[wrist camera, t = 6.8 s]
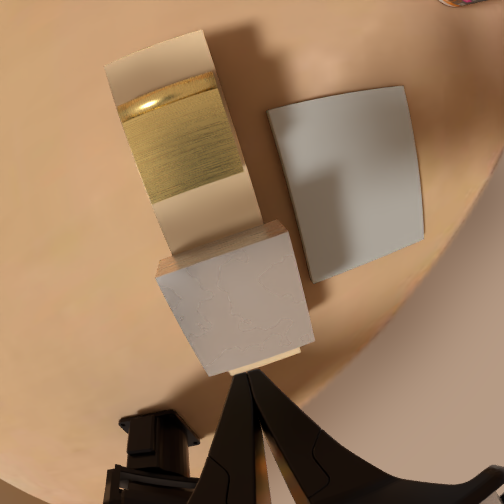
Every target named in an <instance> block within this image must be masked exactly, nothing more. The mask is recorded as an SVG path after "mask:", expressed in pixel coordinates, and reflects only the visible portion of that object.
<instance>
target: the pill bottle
mask: <svg viewBox="0 0 504 504" xmlns="http://www.w3.org/2000/svg"><path fill="white" fill-rule="evenodd" d="M439 1H440V2H442V3H443V4H445V5H447V6H451V7H458V6H463V5H467V4H472V3H476V2H481V1H487V0H439Z"/></svg>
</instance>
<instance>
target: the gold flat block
mask: <svg viewBox="0 0 504 504" xmlns="http://www.w3.org/2000/svg"><path fill="white" fill-rule="evenodd" d="M117 110H118V114H119V117H120V120H121V122H122V125H123V128H124V131H125V134H126V137H127V139H128V142H129V145H130V148H131V151H132V153H133V156H134V159H135V162H136V164H137V167H138V170H139V172H140V175H141V178H142V180H143V183H144V186H145V188H146V191H147V193H148V196H149V198H150V201H151V203H152V204H155V203H157V202H160V201H163V200H165V199H168V198H171V197H173V196H176V195H179V194H181V193H184V192H187V191H189V190H192V189H195V188H198V187H201V186H203V185H206V184H209V183H212V182H215V181H218V180H221V179H224V178H227V177H230V176H233V175H236V174H239V173H242V172H244V170H243V166H242V163H241V160H240V157H239V154H238V150H237V147H236V144H235V141H234V138H233V135H232V131H231V128H230V125H229V122H228V119H227V116H226V113H225V110H224V106H223V103H222V100H221V97H220V94H219V91H218V88H217V84H216V81H215V78H214V75H213V73H212V71H211V72H207V73H204V74H201V75H197V76H194V77H191V78H188V79H185V80H182V81H179V82H176V83H173V84H171V85H168V86H165V87H162V88H160V89H157V90H155V91H152V92H149V93H147V94H144V95H142V96H140V97H137V98H135V99H132V100H130V101H128V102H125V103H123V104H121V105H119V106H117Z"/></svg>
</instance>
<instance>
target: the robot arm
mask: <svg viewBox="0 0 504 504" xmlns="http://www.w3.org/2000/svg"><path fill="white" fill-rule="evenodd" d="M259 420H260V421H259ZM260 424H261V425H260ZM119 426H120V427H121V428H122V429H123V430H124V431H125V432H126V433H127V434H128V443H127V454H128V456H127V467H123V466H121V465H118V464H115V469H110V470H107V478H106V487H105V493H104V500H103V504H271V496H270V489H269V481H268V473H267V465H266V458H265V450H264V441H263V434H262V430H263V433H264V436H265V438H266V440H267V442H268V445H269V447H270V449H271V452H272V454H273V456H274V458H275V461H276V463H277V465H278V467H279V469H280V471H281V473H282V476H283V478H284V480H285V482H286V484H287V486H288V488H289V491H290V493H291V495H292V497H293V499H294V501H295V503H296V504H504V493H503V494H502V495H500V496H498V494H497V493H496V490H497V489H498V488H499V487H500V486H502V485H503V484H504V467H502V466H497V465H491V466H489V467H488V468H486V469H485V470H484V471H482V472H481V473H480V474H478V475H477V476H476V477H474V478H473V479H471V480H470V481H468V482H465V483H462V484H456V485H448V484H437V483H428V482H420V481H412V480H406V479H401V478H397V477H394V476H392V475H390V474H387V473H385V472H383V471H382V470H380V469H378V468H377V467H375V466H373V465H372V464H370V463H368V462H367V461H365V460H363V459H362V458H360V457H358V456H357V455H355V454H354V453H352V452H351V451H349V450H348V449H346V448H345V447H343V446H342V445H340V444H339V443H338V442H337V441H336V440H334V439H333V438H332V437H331V436H330V435H328V434H327V433H326V432H325V431H324V430H321V428H320V427H319V426H318V425H317V424H316V423H315V422H314V421H313V420H312V419H311V418H310V417H308V416H307V415H306V414H305V413H304V412H303V411H302V410H301V409H300V408H299V407H298V406H297V405H296V404H295V403H294V402H293V401H292V400H290V399H289V398H288V397H287V396H286V395H285V394H284V393H283V392H282V391H281V390H280V389H279V388H278V387H277V386H276V385H275V384H274V383H273V382H272V381H271V380H270V379H269V378H268V377H267V376H266V375H265V374H264V373H263V372H262V371H261V370H260V369H256V370H251V371H248V372H247V373H246V372H243V373H238V374H235V375H234V376H233V379H232V382H231V385H230V389H229V392H228V395H227V398H226V401H225V404H224V407H223V411H222V414H221V417H220V420H219V423H218V426H217V429H216V432H215V435H214V438H213V441H212V444H211V447H210V450H209V453H208V457H207V459H206V462H205V465H204V468H203V471H202V473H201V476H200V478H193V477H190V469H189V453H188V447H190V446H195V445H199V444H200V439H199V438H198V437H197V436H196V435H195V434H194V432H193V431H192V430H191V429H190V428H189V427H188V426H187V424H186V423H185V422H184V421H183V420H182V419H181V417H180V416H179V415H178V414H177V413H176V412H175V411H173V410H168V411H164V412H159V413H154V414H149V415H143V416H138V417H132V418H126V419H121V420H119ZM261 427H262V429H261ZM119 487H120V488H124V490H122V489H119Z"/></svg>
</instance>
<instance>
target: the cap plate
mask: <svg viewBox="0 0 504 504" xmlns="http://www.w3.org/2000/svg"><path fill="white" fill-rule="evenodd" d="M155 279H156V281H157V283H158V285H159V287H160V289H161V291H162V293H163V295H164V297H165V299H166V301H167V302H168V304H169V306H170V308H171V310H172V312H173V314H174V316H175V318H176V320H177V322H178V323H179V325H180V327H181V329H182V331H183V333H184V334H185V336H186V338H187V340H188V342H189V343H190V345H191V347H192V349H193V350H194V352H195V354H196V356H197V357H198V359H199V361H200V363H201V364H202V366H203V368H204V369H205V371H206V373H207V374H208V376H209V377H210V376H214V375H217V374H220V373H224V372H227V371H230V370H234V369H237V368H240V367H243V366H246V365H249V364H252V363H256V362H259V361H262V360H264V359H267V358H270V357H273V356H276V355H279V354H282V353H285V352H287V351H290V350H293V349H296V348H298V347H301V346H304V345H306V344H309V343H311V342H314V341H315V338H314V334H313V329H312V325H311V321H310V316H309V312H308V308H307V304H306V299H305V295H304V291H303V287H302V283H301V279H300V275H299V271H298V267H297V263H296V259H295V255H294V251H293V247H292V243H291V240H290V236H289V232H288V231H287V230H286V228H285V227H284V226H283V225H282V224H281V223H280V221H279V220H278V219H277V220H274V221H271V222H268V223H265V224H262V225H259V226H256V227H253V228H250V229H247V230H245V231H242V232H239V233H236V234H233V235H230V236H227V237H224V238H221V239H219V240H216V241H213V242H210V243H207V244H204V245H201V246H199V247H196V248H193V249H190V250H187V251H185V252H182V253H179V254H176V255H173V256H171V257H168V258H165V259H162V260H160V261H159V265H158V269H157V273H156V277H155Z"/></svg>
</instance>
